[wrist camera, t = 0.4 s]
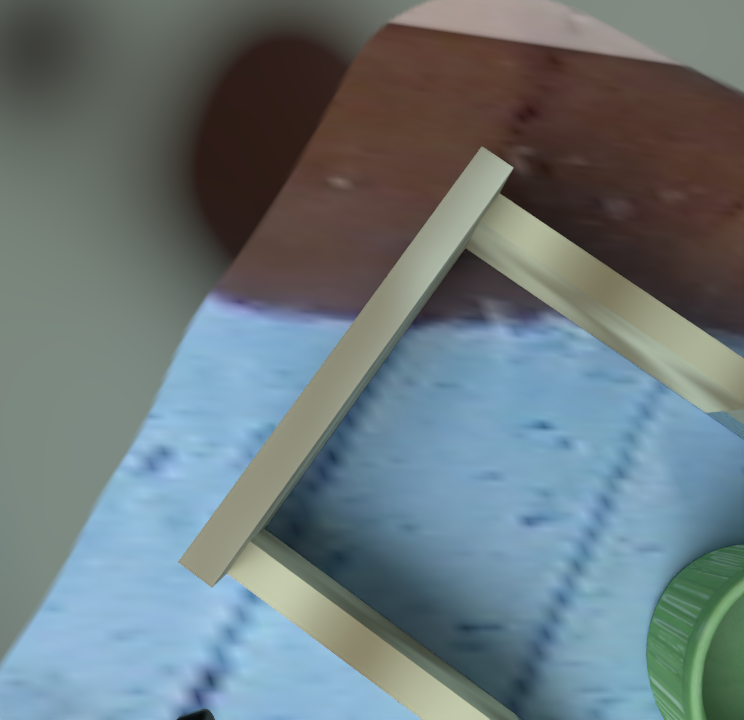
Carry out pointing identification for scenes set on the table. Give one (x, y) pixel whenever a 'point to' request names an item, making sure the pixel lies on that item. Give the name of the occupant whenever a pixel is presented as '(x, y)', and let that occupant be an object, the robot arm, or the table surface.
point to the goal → (361, 362)
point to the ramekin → (700, 640)
